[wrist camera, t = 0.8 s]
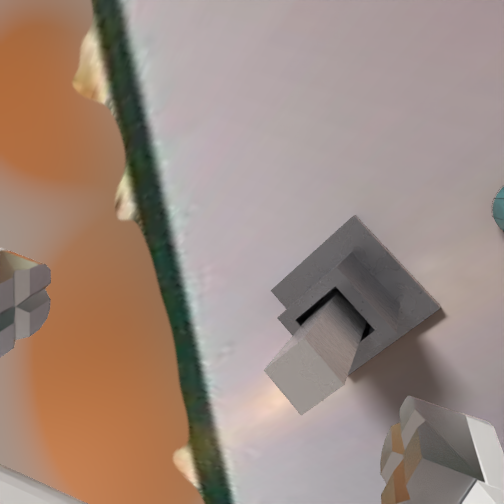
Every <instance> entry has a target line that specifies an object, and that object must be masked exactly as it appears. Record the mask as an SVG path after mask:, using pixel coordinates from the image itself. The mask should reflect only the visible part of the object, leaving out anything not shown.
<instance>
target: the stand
mask: <svg viewBox="0 0 504 504" xmlns="http://www.w3.org/2000/svg"><path fill="white" fill-rule="evenodd" d="M336 288H338V289H339V291H340V292H341V293H342V294H343V295H344V296H345V297H346V298H347V300H348V301H349V302H350V303H351V304H352V305H353V306H354V307H355V308H356V310H357V311H358V312H359V313H360V314H361V315H362V316H363V317H364V318H365V320H366V321H367V323H366V326H365V328H364V331H363V334H362V337H361V339H360V342H359V345H358V348H357V351H356V353H355V356H354V359H353V362H352V364H351V367H350V370H349V373H348V375H349V374H351V373H352V372H353V371H355V370H356V369H358V368H359V367H360V366H362V365H363V364H364V363H366V362H367V361H369V360H370V359H371V358H373V357H374V356H375V355H377V354H378V353H380V352H381V351H382V350H384V349H385V348H386V347H388V346H389V345H391V344H392V343H393V342H395V341H396V340H398V339H399V338H400V337H402V336H403V335H404V334H406V333H407V332H409V331H410V330H411V329H413V328H414V327H415V326H417V325H418V324H420V323H421V322H422V321H424V320H425V319H426V318H428V317H429V316H431V315H432V314H433V313H435V312H436V311H437V310H439V309H440V305H439V304H438V302H437V301H436V300H435V299H434V298H433V297H432V296H431V295H430V294H429V293H428V292H427V291H426V290H425V289H424V288H423V287H422V285H421V284H420V283H419V282H418V281H417V280H416V279H415V278H414V277H413V276H412V275H411V274H410V273H409V272H408V271H407V269H406V268H405V267H404V266H403V265H402V264H401V263H400V262H399V261H398V260H397V259H396V258H395V257H394V256H393V255H392V253H391V252H390V251H389V250H388V249H387V248H386V247H385V246H384V245H383V244H382V243H381V242H380V241H379V240H378V239H377V238H376V236H375V235H374V234H373V233H372V232H371V231H370V230H369V229H368V228H367V227H366V226H365V225H364V224H363V223H362V222H361V220H360V219H359V218H358V217H357V216H356V215H354V216H353V217H352V218H350V219H349V220H348V221H347V222H346V223H345V224H344V225H343V226H342V227H341V228H339V229H338V230H337V231H336V232H335V233H334V234H333V235H332V236H331V237H329V238H328V239H327V240H326V241H325V242H324V243H323V244H322V245H321V246H320V247H318V248H317V249H316V250H315V251H314V252H313V253H312V254H311V255H310V256H308V257H307V258H306V259H305V260H304V261H303V262H302V263H301V264H300V265H299V266H297V267H296V268H295V269H294V270H293V271H292V272H291V273H290V274H289V275H288V276H286V277H285V278H284V279H283V280H282V281H281V282H280V283H279V284H278V285H276V286H275V287H274V288H273V289H272V290H271V291H272V293H273V294H274V295H275V296H276V297H277V298H278V299H279V301H280V302H281V303H282V304H283V305H284V306H285V308H286V310H285V311H284V312H283V313H282V314H281V315H280V316H279V317H278V319H279V320H280V321H281V323H282V324H283V325H284V326H285V327H286V328H287V330H288V331H289V332H290V333H291V334H292V335H294V334H295V333H296V331H297V330H298V329H299V328H300V327H301V325H302V324H303V323H304V322H305V321H306V320H307V318H308V317H309V316H310V315H311V314H312V312H313V311H314V310H315V309H316V308H317V306H318V305H319V304H320V303H321V302H322V300H323V299H324V298H325V297H326V296H327V295H328V294H330V293H331V292H332V291H333V290H334V289H336Z"/></svg>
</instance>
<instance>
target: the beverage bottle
mask: <svg viewBox="0 0 504 504" xmlns="http://www.w3.org/2000/svg"><path fill="white" fill-rule="evenodd" d="M503 186H504V185H503ZM496 194H497V193H496ZM494 199H495V200H494ZM494 199H493V200H494V204H493V210H492V211H493V216H494V219H495V221H496V223H497V225H498V226H499V227H500V228H501V229H502V230H503V231H504V187H503V188H502V189H501V190H500V189H499V193H498V194H497V196H496V198H494ZM493 216H492V217H493Z"/></svg>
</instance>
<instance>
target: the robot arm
mask: <svg viewBox="0 0 504 504" xmlns="http://www.w3.org/2000/svg"><path fill="white" fill-rule="evenodd" d="M50 283H51V273H50V269H49V268H48V267H47V266H46V265H45V264H43V263H40V262H38V261H35V260H32V259H30V258H27V257H25V256H22V255H19V254H17V253H14V252H11V251H8V250H6V249H3V248H1V247H0V357H1V356H3V355H4V354H6V353H7V352H9V351H10V350H11V349H13V348H14V345H15V340H17V339H21V338H25V337H30V336H31V335H32V334H34V333H35V332H36V331H38V330H39V329H40V328H41V326H42V325H43V323H44V322H45V320H46V319H47V317H48V313H49V310H50V298H49V296H48V294H47V292H46V291H45V288H46V287H47V286H48V285H49V284H50ZM399 415H400V423H397V424H395V425H393V426H391V427H390V430H389V432H388V434H387V436H386V438H385V442H384V445H383V449H382V454H381V463H380V467H381V476H382V477H383V479H384V481H385V482H386V486H385V488H384V490H383V492H382V494H381V504H504V453H503V450H502V448H501V445H500V442H499V440H498V437H497V435H496V432H495V429H494V427H493V426H492V425H491V424H490V423H489V422H488V421H485V420H482V419H479V418H476V417H473V416H470V415H467V414H464V413H459V412H456V411H453V410H450V409H447V408H444V407H441V406H438V405H436V404H433V403H430V402H427V401H424V400H421V399H418V398H415V397H412V396H410V395H408V397H407V398H406V399H405V400H404V402H403V404H402V405H401V407H400V409H399ZM0 504H88V503H85V502H83V501H81V500H79V499H76V498H74V497H72V496H70V495H68V494H65V493H63V492H61V491H59V490H56V489H54V488H52V487H50V486H48V485H46V484H43V483H41V482H39V481H37V480H35V479H32V478H30V477H28V476H25V475H24V474H21V473H19V472H17V471H14V470H12V469H10V468H8V467H6V466H4V465H1V464H0Z"/></svg>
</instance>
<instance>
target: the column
mask: <svg viewBox="0 0 504 504" xmlns="http://www.w3.org/2000/svg"><path fill="white" fill-rule="evenodd" d="M366 323H367V321H366V320H365V318H364V317H363V316H362V315H361V314H360V313H359V312H358V311H357V310H356V308H355V307H354V306H353V305H352V304H351V303H350V302H349V301H348V300H347V298H346V297H345V296H344V295H343V294H342V293H341V292H340V291H339V289H338V288H336V289H334V290H333V291H332V292H331V293H330V294H328V295H327V296H326V297H325V298H324V299H323V300H322V302H321V303H320V304H319V305H318V306H317V308H316V309H315V310H314V311H313V312H312V314H311V315H310V316H309V317H308V318H307V320H306V321H305V322H304V323H303V324H302V325H301V327H300V328H299V329H298V330H297V331H296V333H295V334H294V335H293V336H292V337H291V339H290V340H289V341H288V342H287V343H286V345H285V346H284V347H283V348H282V349H281V351H280V352H279V353H278V354H277V355H276V356H275V358H274V359H273V360H272V361H271V362H270V364H269V365H268V366H267V367H266V368H265V370H264V371H265V372H266V374H267V375H268V376H269V377H270V378H271V380H272V381H273V382H274V383H275V384H276V386H277V387H278V388H279V389H280V390H281V392H282V393H283V394H284V395H285V396H286V398H287V399H288V400H289V401H290V402H291V404H292V405H293V406H294V407H295V408H296V410H297V411H298V412H299V413H300V414H301V415H303V414H304V413H306V412H307V411H308V410H310V409H311V408H312V407H314V406H315V405H317V404H318V403H319V402H321V401H322V400H324V399H325V398H326V397H328V396H329V395H331V394H332V393H333V392H335V391H336V390H338V389H339V388H340V387H342V386H343V385H344V384H345V381H346V378H347V376H348V373H349V370H350V367H351V364H352V362H353V359H354V356H355V353H356V351H357V348H358V345H359V342H360V339H361V337H362V334H363V331H364V328H365V326H366Z"/></svg>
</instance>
